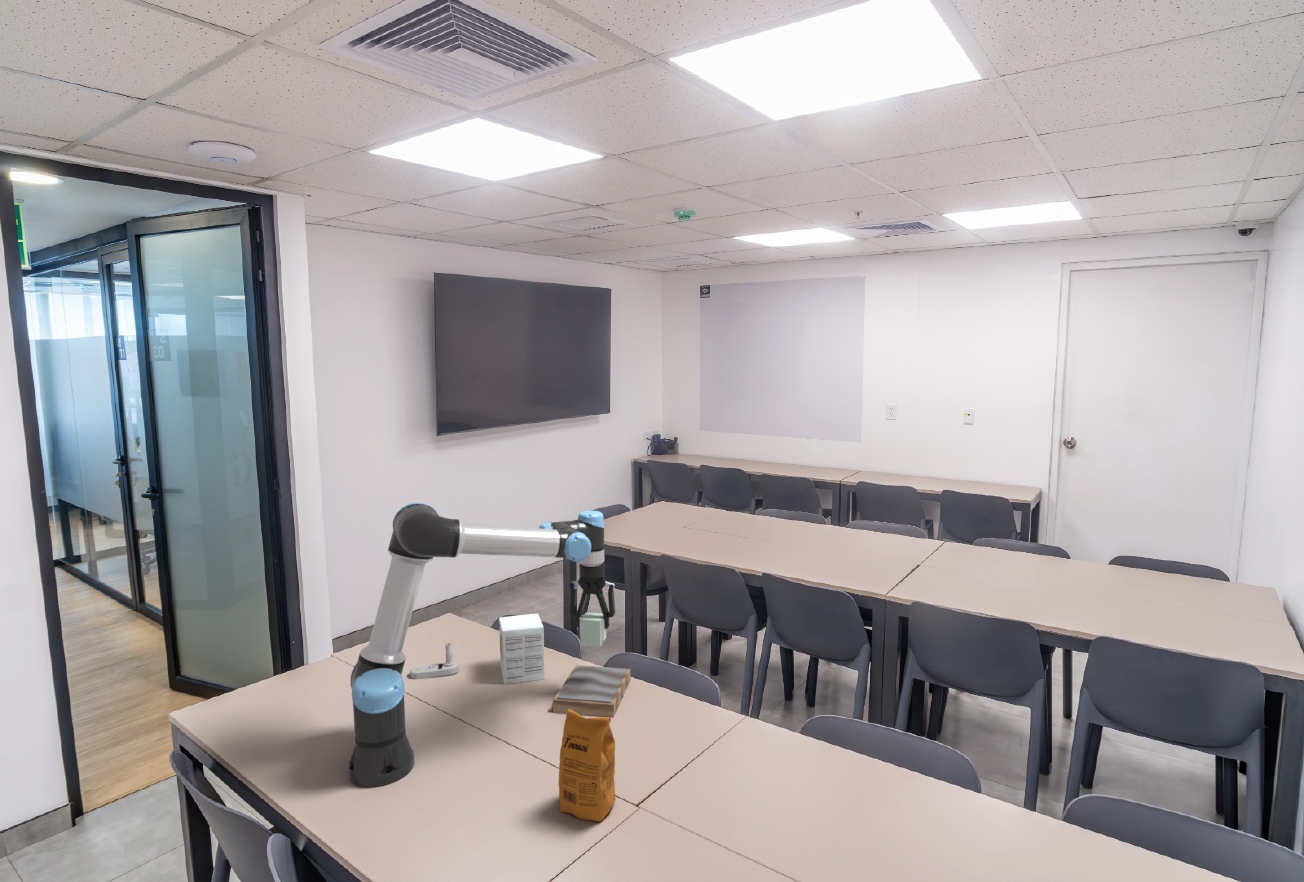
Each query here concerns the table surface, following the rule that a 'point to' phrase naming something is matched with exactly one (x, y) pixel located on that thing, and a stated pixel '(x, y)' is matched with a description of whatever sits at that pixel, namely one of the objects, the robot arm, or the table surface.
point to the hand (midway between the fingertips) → (593, 637)
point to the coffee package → (587, 767)
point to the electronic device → (436, 667)
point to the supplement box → (521, 648)
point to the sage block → (591, 629)
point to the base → (593, 691)
